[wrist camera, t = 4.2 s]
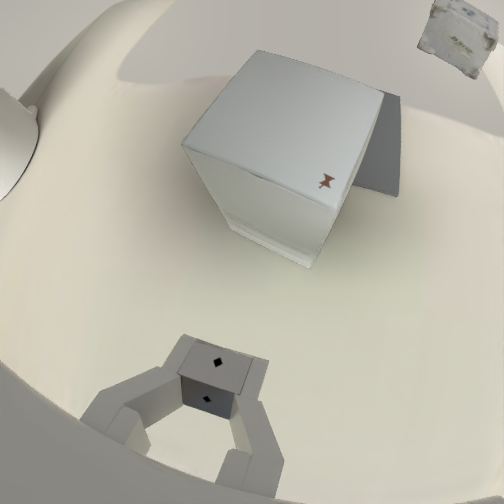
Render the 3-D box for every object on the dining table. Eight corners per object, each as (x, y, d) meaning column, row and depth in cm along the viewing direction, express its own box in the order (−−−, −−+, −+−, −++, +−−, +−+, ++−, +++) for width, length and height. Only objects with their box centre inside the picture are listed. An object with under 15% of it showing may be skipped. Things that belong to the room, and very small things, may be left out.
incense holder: (414, 51, 30) (433, -5, 20) (424, 33, 31) (440, -15, 21) (473, 87, 28) (502, 37, 18) (477, 64, 29) (499, 20, 19)
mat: (223, 155, 26) (222, 153, 26) (260, 68, 29) (260, 65, 29) (396, 197, 24) (398, 195, 24) (398, 99, 27) (399, 96, 27)
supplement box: (348, 193, 24) (391, 92, 12) (309, 272, 23) (337, 218, 11) (270, 157, 25) (257, 45, 13) (227, 229, 24) (174, 145, 12)
